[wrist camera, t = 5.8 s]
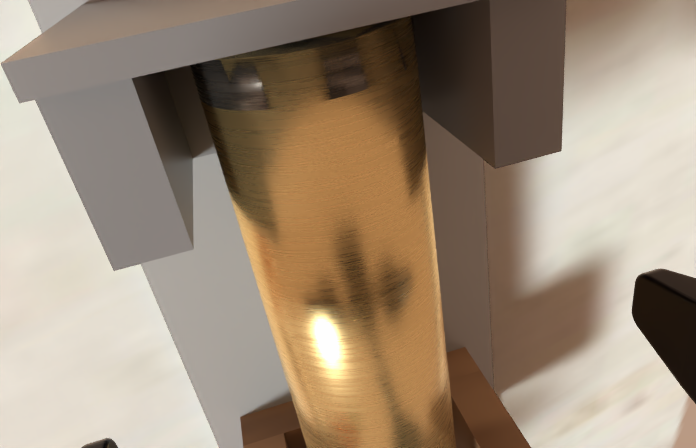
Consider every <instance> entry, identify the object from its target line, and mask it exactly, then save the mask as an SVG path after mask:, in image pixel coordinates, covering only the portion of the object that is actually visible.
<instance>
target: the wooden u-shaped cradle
mask: <svg viewBox="0 0 696 448" xmlns="http://www.w3.org/2000/svg"><path fill="white" fill-rule="evenodd" d="M447 362H448V372H449V382H450V392H451V402H452V412H453V422H454V432H455V442H456V448H531V447H530V445H529V444H528V442H527V441H526V439H525V438H524V436H523V435H522V433H521V432H520V430H519V429H518V427H517V425H516V424H515V422H514V421H513V419H512V418H511V416H510V415H509V413H508V412H507V410H506V409H505V407H504V406H503V404H502V403H501V401H500V400H499V398H498V396H497V395H496V393H495V392H494V390H493V389H492V387H491V386H490V384H489V383H488V381H487V380H486V378H485V377H484V375H483V374H482V372H481V370H480V369H479V367H478V366H477V364H476V363H475V361H474V360H473V358H472V357H471V355H470V354H469V352H468V351H467V349H466V348H465V347H463V348H460V349H457V350H453V351H450V352H447ZM240 421H241V431H242V440H243V448H307V446H306V443H305V440H304V437H303V433H302V430H301V427H300V423H299V420H298V417H297V414H296V410H295V407H294V404H293V401H290V402H287V403H283V404H280V405H277V406H274V407H271V408H267V409H264V410H261V411H258V412H255V413H251V414H248V415H245V416H242V417H240Z"/></svg>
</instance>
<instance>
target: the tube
mask: <svg viewBox="0 0 696 448" xmlns="http://www.w3.org/2000/svg"><path fill="white" fill-rule="evenodd" d="M190 67H191V71H192V74H193V77H194V80H195V84H196V87H197V90H198V94H199V97H200V100H201V103H202V107H203V110H204V113H205V116H206V120H207V123H208V126H209V129H210V133H211V136H212V139H213V143H214V146H215V149H216V152H217V156H218V159H219V162H220V165H221V169H222V172H223V175H224V178H225V182H226V185H227V188H228V192H229V195H230V198H231V201H232V205H233V208H234V211H235V214H236V218H237V221H238V224H239V227H240V231H241V234H242V237H243V241H244V244H245V247H246V250H247V254H248V257H249V260H250V263H251V267H252V270H253V273H254V276H255V280H256V283H257V286H258V290H259V293H260V296H261V299H262V303H263V306H264V309H265V312H266V316H267V319H268V322H269V325H270V329H271V332H272V335H273V339H274V342H275V345H276V348H277V352H278V355H279V358H280V361H281V365H282V368H283V371H284V374H285V378H286V381H287V384H288V388H289V391H290V394H291V397H292V401H293V404H294V407H295V410H296V414H297V417H298V420H299V423H300V427H301V430H302V433H303V437H304V440H305V443H306V446H307V448H456V442H455V432H454V422H453V412H452V402H451V392H450V382H449V372H448V362H447V352H446V342H445V332H444V322H443V312H442V302H441V292H440V282H439V272H438V262H437V252H436V242H435V232H434V222H433V212H432V202H431V192H430V182H429V172H428V162H427V152H426V142H425V132H424V122H423V112H422V102H421V92H420V82H419V72H418V62H417V52H416V42H415V32H414V22H413V15H412V16H407V17H403V18H398V19H394V20H389V21H385V22H380V23H376V24H371V25H367V26H362V27H358V28H353V29H349V30H344V31H340V32H336V33H331V34H327V35H322V36H318V37H313V38H309V39H304V40H300V41H295V42H291V43H286V44H282V45H277V46H273V47H268V48H264V49H259V50H255V51H251V52H246V53H242V54H237V55H233V56H228V57H224V58H219V59H215V60H210V61H206V62H201V63H197V64H192V65H190Z"/></svg>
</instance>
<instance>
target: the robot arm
mask: <svg viewBox="0 0 696 448" xmlns="http://www.w3.org/2000/svg"><path fill="white" fill-rule="evenodd" d="M632 316H633V319H634V321H635V323H636V325H637V326H638V328H639V329H640V330H641V332H642V333H643V335H644V336H645V337H646V339H647V340H648V341H649V343H650V344H651V345H652V347H653V348H654V350H655V351H656V352H657V354H658V355H659V356H660V358H661V359H662V360H663V362H664V363H665V365H666V366H667V367H668V369H669V370H670V371H671V373H672V374H673V375H674V377H675V378H676V380H677V381H678V382H679V384H680V385H681V386H682V388H683V389H684V390H685V391H686V393H687V394H688V395H689V396H690V398H691V399H692V400H693V401H694V402H695V404H696V278H693V277H690V276H686V275H683V274H679V273H676V272H673V271H669V270H666V269H655V270H652V271H649V272H646V273H642V274H640V275H639V276H638V277H637V279H636V281H635V288H634V296H633V305H632ZM82 448H118V447H117V445H116V443H115V442H114V441H113V440H112V439H110V438H106V439H102V440H99V441H96V442H93V443H89V444H86V445H84V446H83V447H82Z"/></svg>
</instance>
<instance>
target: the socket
mask: <svg viewBox="0 0 696 448" xmlns="http://www.w3.org/2000/svg"><path fill="white" fill-rule="evenodd" d="M412 15H413V22H414V32H415V42H416V52H417V62H418V72H419V82H420V92H421V102H422V111H423V112H424V113H426V114H427V115H428V116H429V117H431V118H432V119H433V120H434V121H436V122H437V123H438V124H439V125H441V126H442V127H443V128H444V129H446V130H447V131H448V132H450V133H451V134H452V135H453V136H455V137H456V138H457V139H458V140H460V141H461V142H462V143H463V144H465V145H466V146H467V147H468V148H470V149H471V150H472V151H474V152H475V153H476V154H477V155H479V156H480V157H481V158H482V159H484V160H485V161H486V162H487V163H489V164H490V165H491V166H492V167H494V168H495V169H496V168H500V167H503V166H507V165H511V164H515V163H518V162H522V161H526V160H529V159H533V158H537V157H541V156H544V155H548V154H552V153H556V152H559V151H561V149H562V118H563V87H564V56H565V25H566V0H102V1H97V2H92V3H87V4H82V5H81V6H80V7H78V8H77V9H76V10H74V11H73V12H71V13H70V14H69V15H67V16H66V17H64V18H63V19H62V20H60V21H59V22H58V23H56V24H55V25H53V26H52V27H51V28H49V29H48V30H46V31H45V32H44V33H42V34H41V35H39V36H38V37H37V38H35V39H34V40H33V41H31V42H30V43H28V44H27V45H26V46H24V47H23V48H21V49H20V50H19V51H17V52H16V53H15V54H13V55H12V56H10V57H9V58H8V59H6V60H5V61H3V62H2V63H1V65H2V68H3V70H4V72H5V74H6V76H7V78H8V80H9V82H10V84H11V86H12V89H13V91H14V93H15V95H16V97H17V99H18V101H19V103H22V102H27V101H31V100H35V101H36V103H37V105H38V107H39V109H40V111H41V114H42V116H43V118H44V120H45V122H46V125H47V127H48V129H49V131H50V133H51V135H52V138H53V140H54V142H55V144H56V146H57V148H58V151H59V153H60V155H61V157H62V159H63V161H64V164H65V166H66V168H67V170H68V172H69V174H70V177H71V179H72V181H73V183H74V185H75V188H76V190H77V192H78V194H79V196H80V198H81V201H82V203H83V205H84V207H85V209H86V211H87V214H88V216H89V218H90V220H91V222H92V224H93V227H94V229H95V231H96V233H97V235H98V237H99V240H100V242H101V244H102V246H103V248H104V250H105V253H106V255H107V257H108V259H109V261H110V264H111V266H112V268H113V270H114V271H115V270H119V269H123V268H127V267H130V266H134V265H138V264H141V263H145V262H149V261H153V260H156V259H160V258H164V257H168V256H171V255H175V254H179V253H183V252H186V251H190V250H194V236H193V159H194V158H198V157H202V156H206V155H210V154H214V153H217V152H216V149H215V146H214V143H213V139H212V136H211V133H210V129H209V126H208V123H207V120H206V116H205V113H204V110H203V107H202V103H201V100H200V97H199V94H198V90H197V87H196V84H195V80H194V77H193V74H192V71H191V67H190V65H192V64H197V63H201V62H206V61H210V60H215V59H219V58H224V57H228V56H233V55H237V54H242V53H246V52H251V51H255V50H259V49H264V48H268V47H273V46H277V45H282V44H286V43H291V42H295V41H300V40H304V39H309V38H313V37H318V36H322V35H327V34H331V33H336V32H340V31H344V30H349V29H353V28H358V27H362V26H367V25H371V24H376V23H380V22H385V21H389V20H394V19H398V18H403V17H407V16H412Z"/></svg>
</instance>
